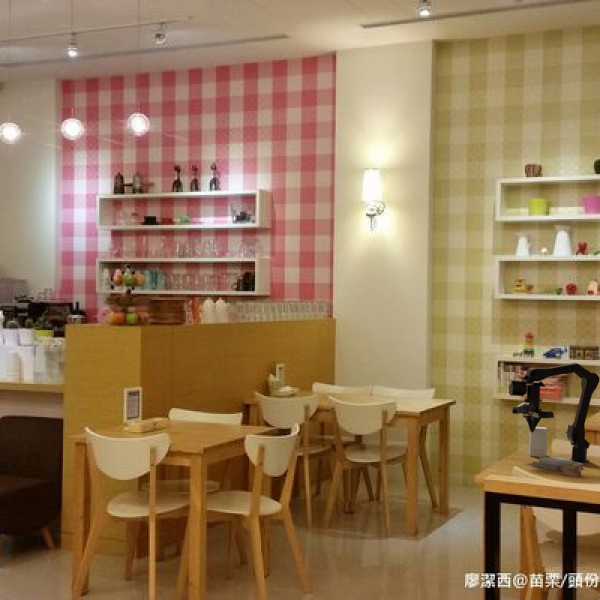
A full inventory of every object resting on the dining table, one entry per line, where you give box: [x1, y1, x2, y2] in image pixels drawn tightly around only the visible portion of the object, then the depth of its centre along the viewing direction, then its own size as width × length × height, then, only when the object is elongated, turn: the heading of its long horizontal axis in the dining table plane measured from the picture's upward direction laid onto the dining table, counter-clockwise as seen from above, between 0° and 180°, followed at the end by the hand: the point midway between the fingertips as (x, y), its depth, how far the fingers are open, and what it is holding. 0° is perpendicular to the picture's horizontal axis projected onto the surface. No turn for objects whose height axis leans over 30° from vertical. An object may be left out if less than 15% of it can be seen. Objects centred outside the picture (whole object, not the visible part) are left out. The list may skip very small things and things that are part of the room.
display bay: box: [531, 460, 584, 473], centre depth 381 cm, size 16×13×2 cm
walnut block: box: [562, 464, 582, 477], centre depth 364 cm, size 5×5×4 cm
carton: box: [538, 456, 574, 466], centre depth 379 cm, size 10×9×4 cm
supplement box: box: [528, 426, 548, 458], centre depth 410 cm, size 7×7×13 cm
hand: (531, 432), depth 398 cm, fingers closed
